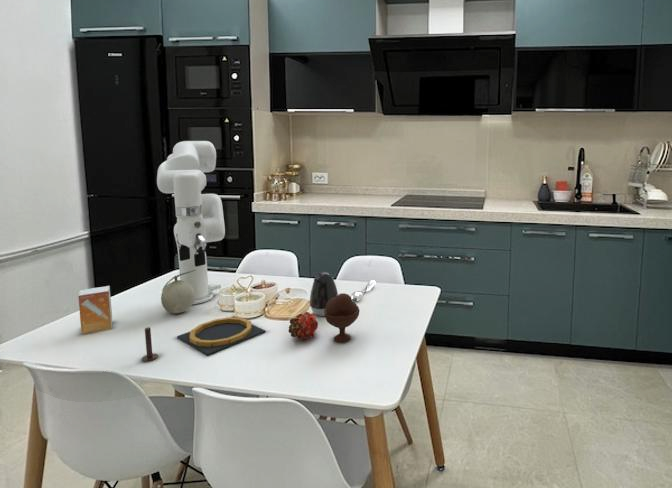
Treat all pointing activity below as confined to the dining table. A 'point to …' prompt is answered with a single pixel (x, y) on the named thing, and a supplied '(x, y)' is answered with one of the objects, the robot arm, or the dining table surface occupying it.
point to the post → (149, 347)
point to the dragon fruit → (303, 326)
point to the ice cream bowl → (341, 315)
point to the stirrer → (357, 295)
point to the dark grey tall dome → (322, 292)
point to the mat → (220, 336)
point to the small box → (95, 309)
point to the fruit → (177, 295)
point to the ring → (221, 341)
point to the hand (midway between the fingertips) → (192, 262)
